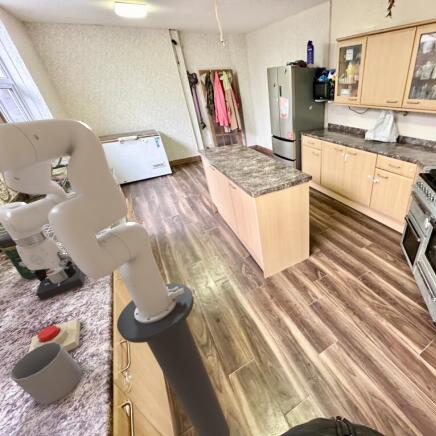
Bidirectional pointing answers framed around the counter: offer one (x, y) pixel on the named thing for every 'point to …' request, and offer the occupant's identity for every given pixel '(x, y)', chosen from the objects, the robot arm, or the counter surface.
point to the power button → (48, 333)
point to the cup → (46, 373)
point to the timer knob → (57, 275)
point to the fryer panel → (59, 285)
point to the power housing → (62, 336)
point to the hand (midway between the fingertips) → (58, 277)
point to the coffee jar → (14, 255)
